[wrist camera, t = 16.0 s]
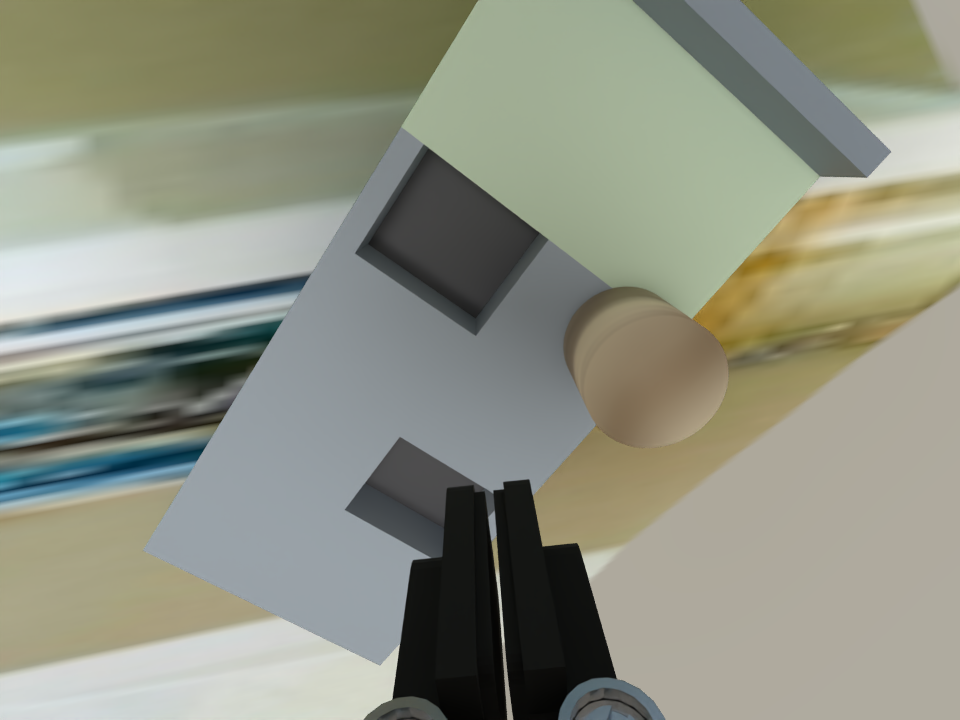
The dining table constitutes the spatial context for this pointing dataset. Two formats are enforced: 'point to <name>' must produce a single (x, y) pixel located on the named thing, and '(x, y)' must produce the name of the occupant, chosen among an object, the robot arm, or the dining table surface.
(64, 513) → the dining table surface
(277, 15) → the dining table surface
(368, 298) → the board
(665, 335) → the tan short rounded piece
